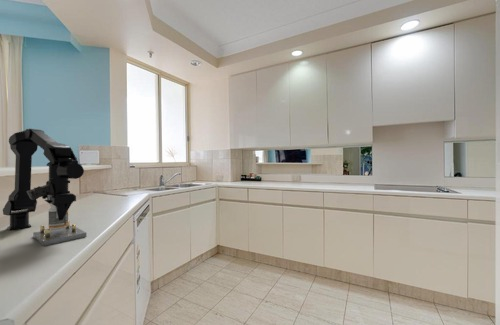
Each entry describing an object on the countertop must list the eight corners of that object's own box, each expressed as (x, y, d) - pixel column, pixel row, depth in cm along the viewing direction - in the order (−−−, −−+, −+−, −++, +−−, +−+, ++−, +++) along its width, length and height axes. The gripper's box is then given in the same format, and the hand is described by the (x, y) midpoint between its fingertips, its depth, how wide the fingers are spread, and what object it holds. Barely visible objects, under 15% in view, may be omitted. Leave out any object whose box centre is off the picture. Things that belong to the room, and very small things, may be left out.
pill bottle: (70, 227, 85) (70, 201, 85) (51, 231, 80) (51, 203, 80) (64, 225, 88) (65, 200, 88) (46, 228, 83) (46, 202, 83)
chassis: (33, 236, 83) (33, 225, 83) (72, 229, 93) (72, 219, 93) (43, 246, 73) (43, 234, 73) (86, 236, 83) (86, 226, 83)
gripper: (24, 177, 83) (23, 219, 83) (35, 180, 72) (34, 228, 72) (62, 176, 92) (61, 213, 92) (76, 178, 81) (76, 221, 81)
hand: (58, 218), depth 84 cm, fingers closed on pill bottle, 5 cm apart
